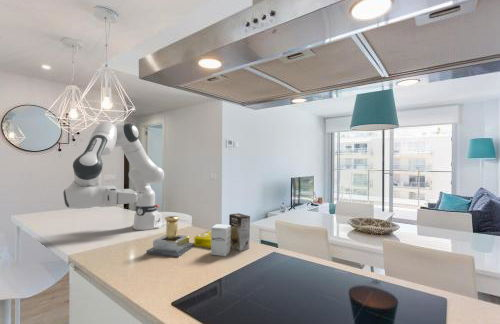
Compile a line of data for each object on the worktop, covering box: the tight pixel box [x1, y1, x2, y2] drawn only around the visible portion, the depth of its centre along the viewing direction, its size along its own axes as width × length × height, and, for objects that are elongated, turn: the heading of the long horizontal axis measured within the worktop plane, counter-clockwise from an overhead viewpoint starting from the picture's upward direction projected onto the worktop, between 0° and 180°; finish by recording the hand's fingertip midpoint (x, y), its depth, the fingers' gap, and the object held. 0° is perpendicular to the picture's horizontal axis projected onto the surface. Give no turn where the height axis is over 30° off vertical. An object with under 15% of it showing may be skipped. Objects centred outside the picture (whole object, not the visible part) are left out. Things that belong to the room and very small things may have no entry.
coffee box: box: [228, 212, 251, 252], centre depth 127 cm, size 9×6×16 cm
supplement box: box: [210, 223, 231, 257], centre depth 118 cm, size 7×7×13 cm
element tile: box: [193, 230, 211, 249], centre depth 134 cm, size 15×15×5 cm
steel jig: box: [146, 234, 195, 258], centre depth 122 cm, size 16×16×6 cm
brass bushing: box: [164, 215, 180, 241], centre depth 122 cm, size 6×6×14 cm
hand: (145, 194), depth 116 cm, fingers open, 8 cm apart
